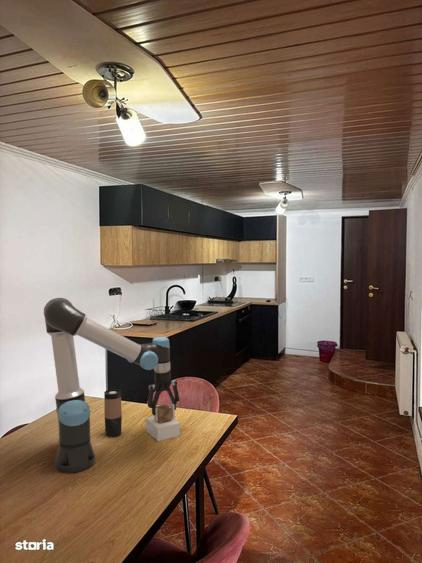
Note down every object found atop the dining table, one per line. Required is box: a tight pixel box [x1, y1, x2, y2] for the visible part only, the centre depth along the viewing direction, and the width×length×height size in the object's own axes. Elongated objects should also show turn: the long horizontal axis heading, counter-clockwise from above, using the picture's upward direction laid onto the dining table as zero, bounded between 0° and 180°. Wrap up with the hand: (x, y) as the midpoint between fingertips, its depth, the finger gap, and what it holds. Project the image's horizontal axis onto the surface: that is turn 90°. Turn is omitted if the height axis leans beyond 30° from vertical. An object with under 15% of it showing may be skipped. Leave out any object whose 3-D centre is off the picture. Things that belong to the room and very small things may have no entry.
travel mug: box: [103, 388, 123, 438], centre depth 185 cm, size 8×8×20 cm
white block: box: [145, 415, 181, 442], centre depth 186 cm, size 11×14×6 cm
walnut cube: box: [156, 404, 172, 424], centre depth 186 cm, size 6×6×6 cm
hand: (164, 419), depth 186 cm, fingers open, 8 cm apart
